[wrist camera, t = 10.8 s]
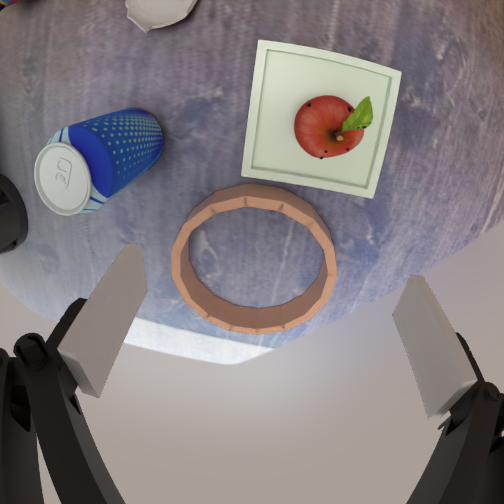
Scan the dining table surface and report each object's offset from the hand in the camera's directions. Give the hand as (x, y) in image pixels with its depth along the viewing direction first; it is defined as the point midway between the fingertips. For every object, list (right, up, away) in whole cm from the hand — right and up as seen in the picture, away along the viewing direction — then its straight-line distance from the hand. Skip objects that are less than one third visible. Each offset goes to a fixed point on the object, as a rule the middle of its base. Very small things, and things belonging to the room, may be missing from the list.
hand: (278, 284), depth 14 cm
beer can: (-16, +16, +20) cm, 30 cm away
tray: (+7, +17, +17) cm, 25 cm away
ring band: (-1, +1, +28) cm, 28 cm away
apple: (+7, +17, +17) cm, 25 cm away
